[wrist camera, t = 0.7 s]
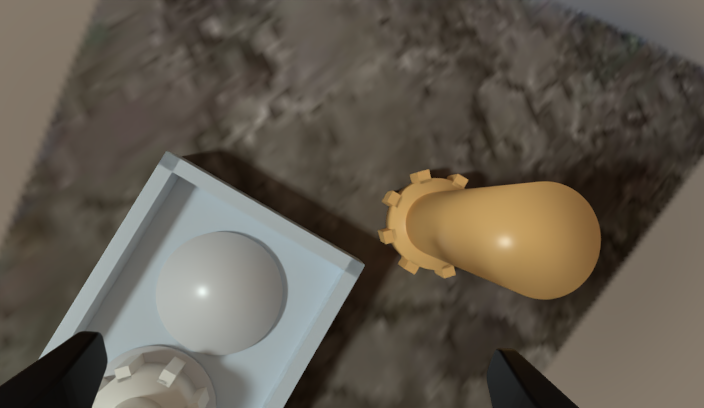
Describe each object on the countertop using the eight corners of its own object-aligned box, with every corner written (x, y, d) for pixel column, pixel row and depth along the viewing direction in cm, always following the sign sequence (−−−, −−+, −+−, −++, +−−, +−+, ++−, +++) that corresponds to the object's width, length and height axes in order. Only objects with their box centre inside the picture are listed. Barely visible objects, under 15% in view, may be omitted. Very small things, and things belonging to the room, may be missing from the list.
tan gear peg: (445, 291, 26) (579, 378, 13) (358, 241, 25) (408, 279, 13) (494, 204, 26) (673, 204, 13) (409, 152, 26) (510, 100, 13)
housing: (203, 530, 25) (177, 610, 20) (11, 434, 24) (-68, 494, 19) (359, 259, 25) (371, 272, 21) (180, 156, 24) (148, 144, 20)
